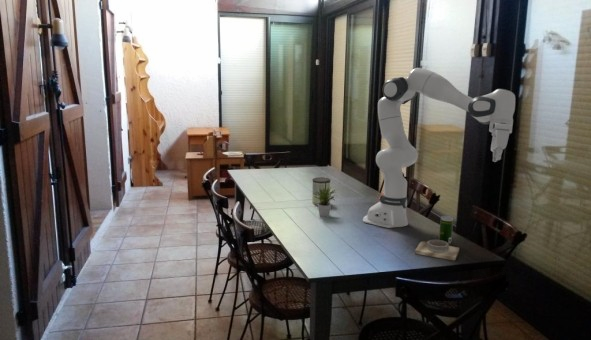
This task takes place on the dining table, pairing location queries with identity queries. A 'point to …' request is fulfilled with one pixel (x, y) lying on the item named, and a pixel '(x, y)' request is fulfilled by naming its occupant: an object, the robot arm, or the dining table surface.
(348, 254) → the dining table surface
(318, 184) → the glass jar with lid
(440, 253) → the board
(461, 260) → the dining table surface
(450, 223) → the beer can
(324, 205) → the house plant
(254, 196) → the dining table surface
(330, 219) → the dining table surface
